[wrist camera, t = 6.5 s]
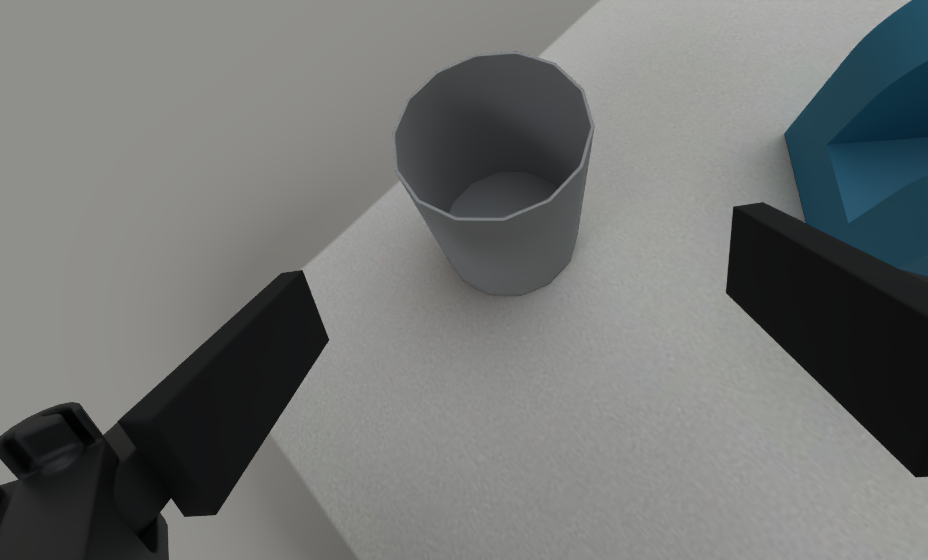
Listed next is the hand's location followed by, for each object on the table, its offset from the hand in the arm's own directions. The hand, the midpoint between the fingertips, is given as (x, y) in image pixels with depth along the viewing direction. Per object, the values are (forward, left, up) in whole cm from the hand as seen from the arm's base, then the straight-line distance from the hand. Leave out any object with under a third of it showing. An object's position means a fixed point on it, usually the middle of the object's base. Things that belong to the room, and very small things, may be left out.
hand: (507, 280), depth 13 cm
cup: (+2, +7, -12) cm, 14 cm away
